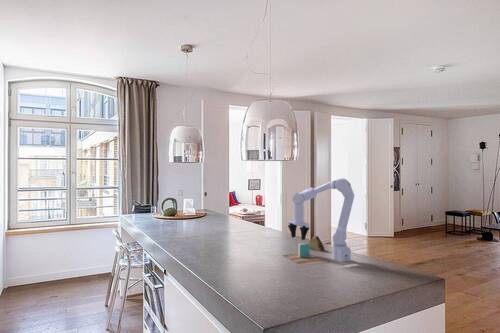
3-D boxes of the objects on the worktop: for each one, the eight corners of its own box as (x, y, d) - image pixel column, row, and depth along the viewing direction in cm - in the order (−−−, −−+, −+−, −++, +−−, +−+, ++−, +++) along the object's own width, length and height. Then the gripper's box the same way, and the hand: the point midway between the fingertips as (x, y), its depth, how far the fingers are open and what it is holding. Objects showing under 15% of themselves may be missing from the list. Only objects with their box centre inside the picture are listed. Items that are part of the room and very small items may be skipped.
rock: (301, 246, 201) (310, 247, 192) (307, 234, 204) (316, 234, 195) (314, 255, 204) (323, 257, 195) (320, 243, 207) (329, 245, 198)
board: (328, 264, 170) (328, 262, 170) (301, 267, 164) (301, 265, 164) (305, 254, 191) (305, 252, 191) (280, 256, 185) (280, 254, 185)
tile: (309, 256, 181) (309, 243, 181) (300, 257, 179) (300, 244, 179) (307, 255, 183) (307, 243, 183) (298, 256, 181) (298, 243, 181)
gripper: (313, 215, 183) (312, 239, 183) (294, 212, 195) (294, 235, 195) (304, 216, 179) (304, 241, 179) (285, 213, 191) (285, 237, 191)
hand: (298, 238), depth 187 cm, fingers open, 7 cm apart
